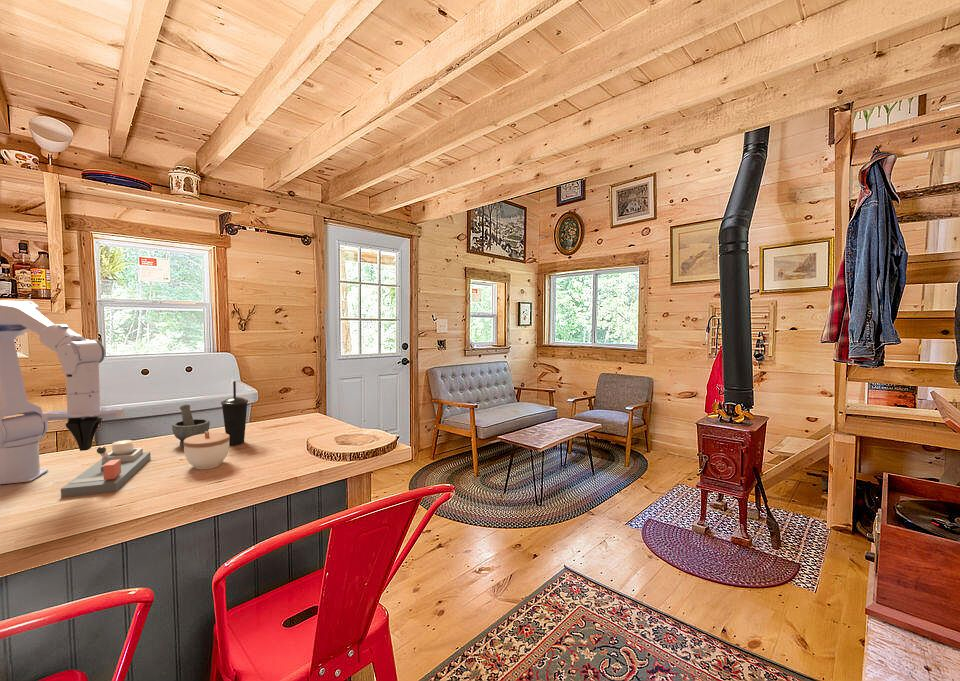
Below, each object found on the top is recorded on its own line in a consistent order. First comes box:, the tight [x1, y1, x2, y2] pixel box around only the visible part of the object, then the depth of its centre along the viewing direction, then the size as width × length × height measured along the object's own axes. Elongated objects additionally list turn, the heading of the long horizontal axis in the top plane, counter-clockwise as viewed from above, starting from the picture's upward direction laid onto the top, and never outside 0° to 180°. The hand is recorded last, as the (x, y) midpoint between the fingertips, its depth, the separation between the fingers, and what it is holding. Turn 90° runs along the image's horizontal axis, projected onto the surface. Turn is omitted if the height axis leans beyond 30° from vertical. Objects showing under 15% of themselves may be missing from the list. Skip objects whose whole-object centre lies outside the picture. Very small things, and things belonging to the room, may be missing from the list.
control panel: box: [60, 447, 152, 498], centre depth 111 cm, size 10×24×4 cm, turn 22°
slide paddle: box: [103, 459, 121, 480], centre depth 104 cm, size 2×4×3 cm, turn 22°
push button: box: [111, 439, 134, 454], centre depth 118 cm, size 4×4×2 cm
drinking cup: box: [220, 380, 249, 446], centre depth 139 cm, size 8×8×20 cm
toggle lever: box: [96, 446, 111, 461], centre depth 110 cm, size 2×2×4 cm
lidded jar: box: [183, 430, 230, 470], centre depth 119 cm, size 11×11×9 cm
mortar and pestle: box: [171, 404, 211, 448], centre depth 138 cm, size 11×9×12 cm
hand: (85, 449), depth 102 cm, fingers closed
